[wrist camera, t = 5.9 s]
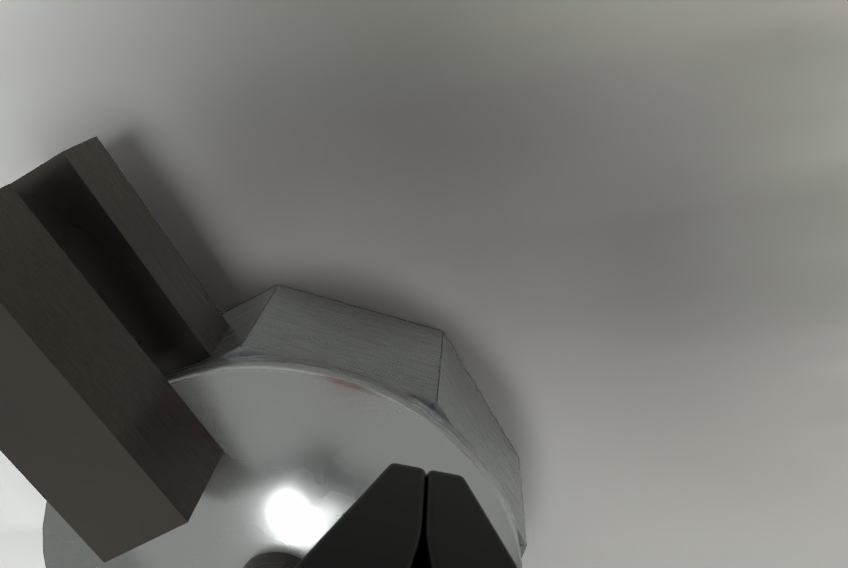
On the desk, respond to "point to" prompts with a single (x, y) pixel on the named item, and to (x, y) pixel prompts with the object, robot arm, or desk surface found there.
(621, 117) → the desk surface
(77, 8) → the desk surface
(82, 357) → the lid
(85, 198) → the pot
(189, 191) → the desk surface
